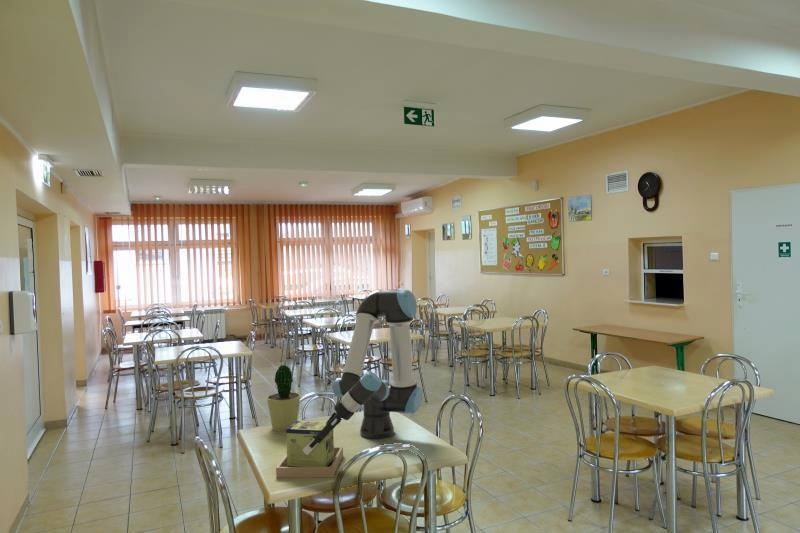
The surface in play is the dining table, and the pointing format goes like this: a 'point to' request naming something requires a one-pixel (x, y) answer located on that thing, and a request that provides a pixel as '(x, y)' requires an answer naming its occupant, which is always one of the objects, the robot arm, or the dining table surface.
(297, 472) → the tray
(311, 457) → the protein box
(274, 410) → the potted cactus
